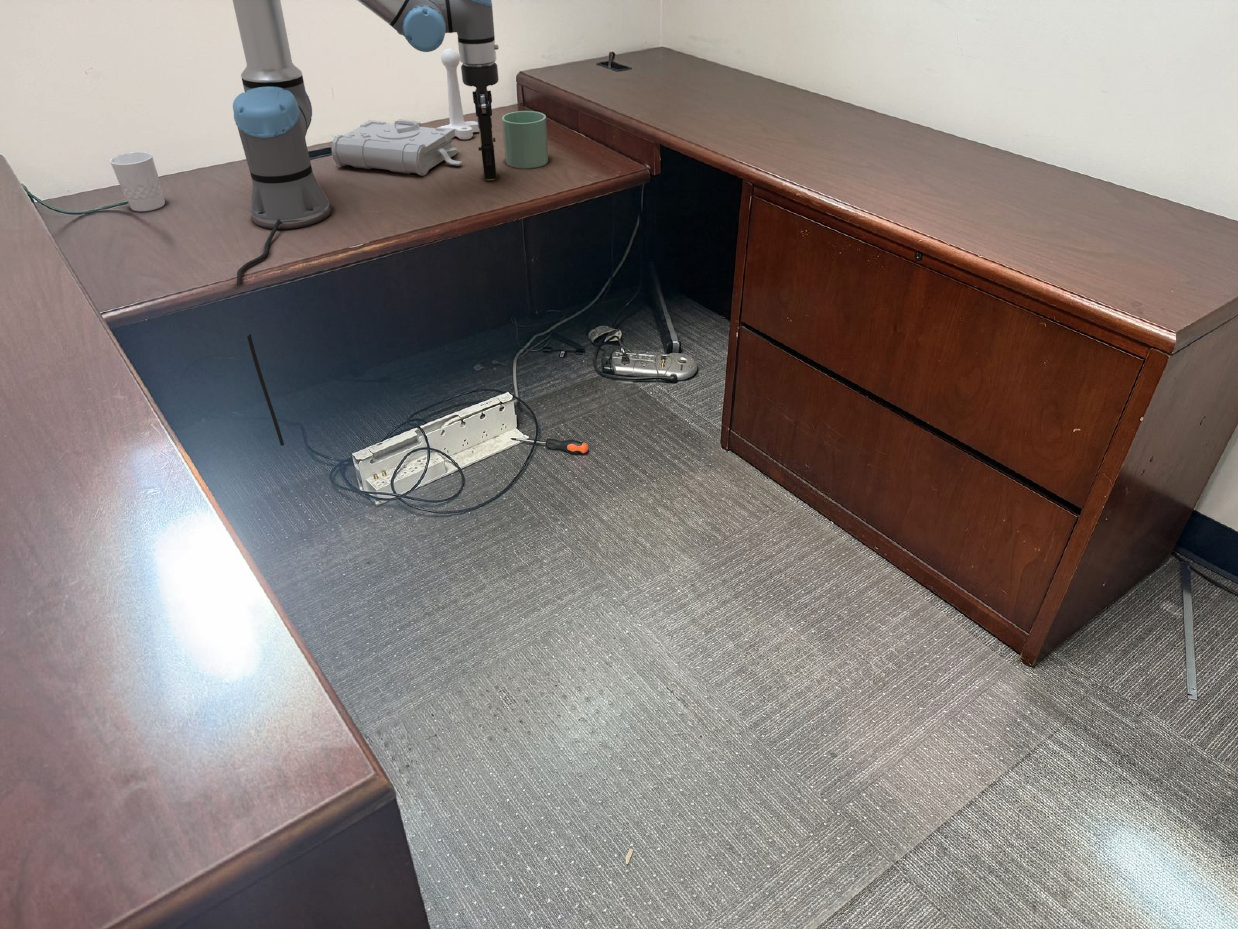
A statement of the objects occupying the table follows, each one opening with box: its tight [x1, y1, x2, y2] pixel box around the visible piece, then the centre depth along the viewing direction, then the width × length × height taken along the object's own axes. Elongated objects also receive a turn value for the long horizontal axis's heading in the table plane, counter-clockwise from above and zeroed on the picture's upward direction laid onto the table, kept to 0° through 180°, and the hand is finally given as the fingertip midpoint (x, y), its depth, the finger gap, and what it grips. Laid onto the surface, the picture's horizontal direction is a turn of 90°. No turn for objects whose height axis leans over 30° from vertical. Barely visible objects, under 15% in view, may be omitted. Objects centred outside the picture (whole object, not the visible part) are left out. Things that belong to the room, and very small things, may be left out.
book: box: [331, 118, 463, 177], centre depth 197 cm, size 19×28×8 cm
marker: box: [477, 116, 497, 181], centre depth 186 cm, size 3×3×13 cm
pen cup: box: [501, 110, 549, 169], centre depth 196 cm, size 10×10×10 cm
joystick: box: [438, 48, 479, 140], centre depth 208 cm, size 11×8×20 cm
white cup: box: [109, 151, 166, 212], centre depth 175 cm, size 8×8×10 cm
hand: (490, 175), depth 190 cm, fingers open, 3 cm apart
